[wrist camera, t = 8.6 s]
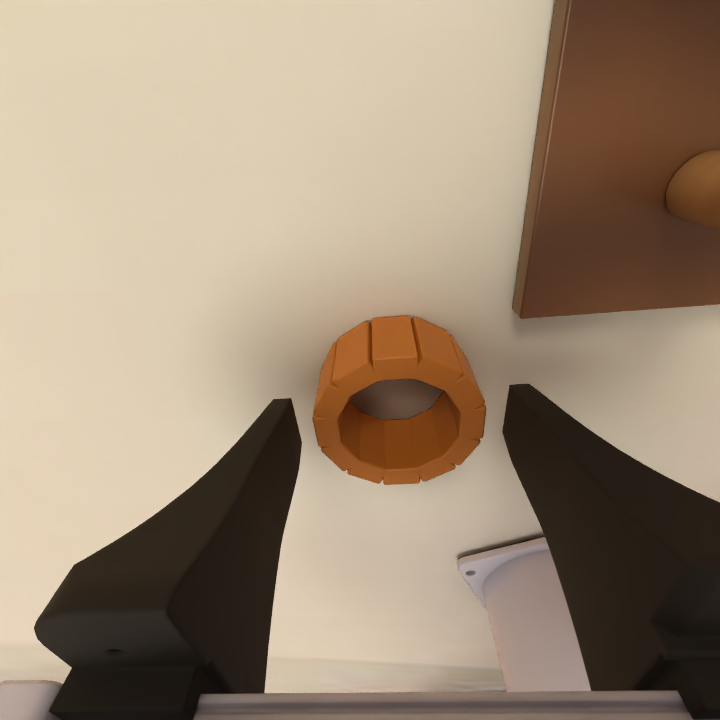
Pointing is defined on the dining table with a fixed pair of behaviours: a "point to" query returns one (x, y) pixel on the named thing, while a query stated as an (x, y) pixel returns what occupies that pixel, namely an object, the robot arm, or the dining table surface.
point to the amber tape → (405, 436)
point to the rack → (625, 161)
